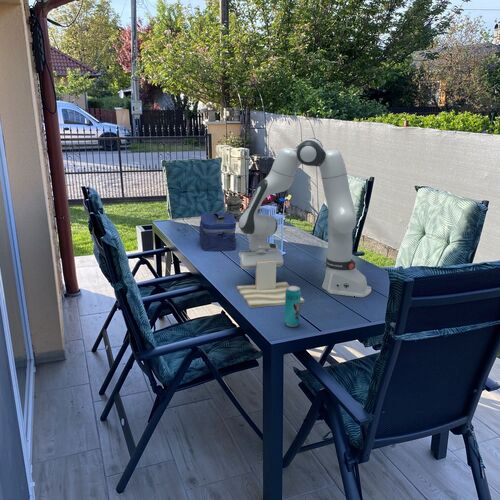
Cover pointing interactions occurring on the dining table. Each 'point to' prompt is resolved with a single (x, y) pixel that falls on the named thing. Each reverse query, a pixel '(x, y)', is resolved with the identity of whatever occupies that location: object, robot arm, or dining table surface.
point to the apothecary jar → (233, 206)
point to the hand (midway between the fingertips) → (264, 275)
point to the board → (264, 295)
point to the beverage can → (292, 306)
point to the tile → (265, 274)
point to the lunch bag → (217, 232)
